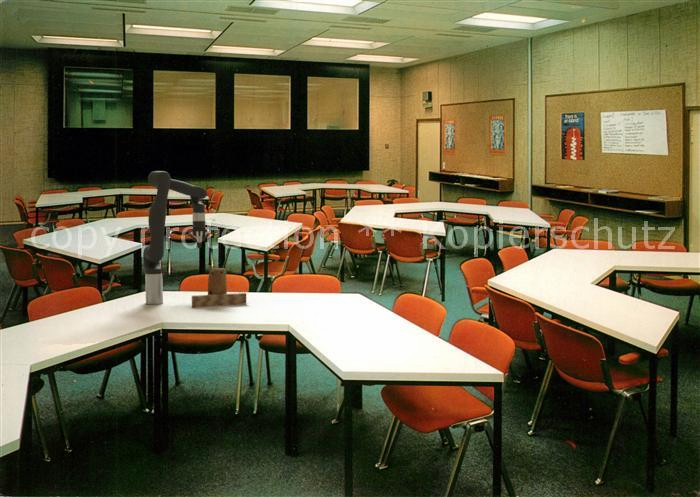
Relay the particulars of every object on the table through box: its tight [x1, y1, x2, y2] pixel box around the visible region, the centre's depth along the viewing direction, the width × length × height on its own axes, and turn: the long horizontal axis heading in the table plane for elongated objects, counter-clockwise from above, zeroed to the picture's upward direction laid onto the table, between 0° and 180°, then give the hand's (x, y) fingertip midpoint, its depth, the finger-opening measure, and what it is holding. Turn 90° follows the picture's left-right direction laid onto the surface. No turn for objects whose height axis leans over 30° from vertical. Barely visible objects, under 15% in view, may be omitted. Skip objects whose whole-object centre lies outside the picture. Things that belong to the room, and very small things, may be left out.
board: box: [191, 292, 247, 308], centre depth 331 cm, size 30×3×6 cm, turn 111°
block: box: [207, 267, 228, 295], centre depth 338 cm, size 11×8×20 cm
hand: (199, 248), depth 361 cm, fingers closed
